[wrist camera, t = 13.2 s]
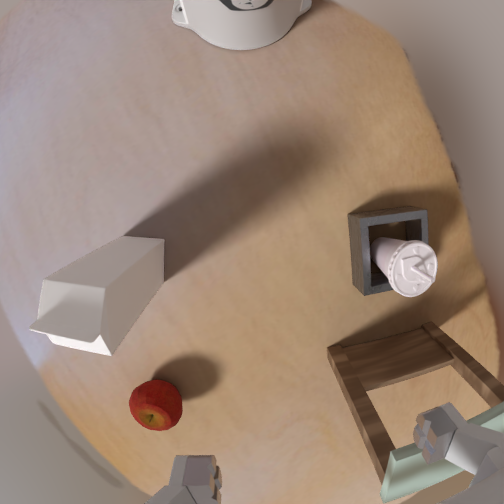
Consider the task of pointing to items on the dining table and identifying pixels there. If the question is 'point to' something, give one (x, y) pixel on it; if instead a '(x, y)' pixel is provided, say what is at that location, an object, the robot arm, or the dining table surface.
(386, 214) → the socket
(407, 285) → the smoothie
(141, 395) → the apple
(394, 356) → the green-topped frame
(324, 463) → the dining table surface
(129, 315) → the milk
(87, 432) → the dining table surface
